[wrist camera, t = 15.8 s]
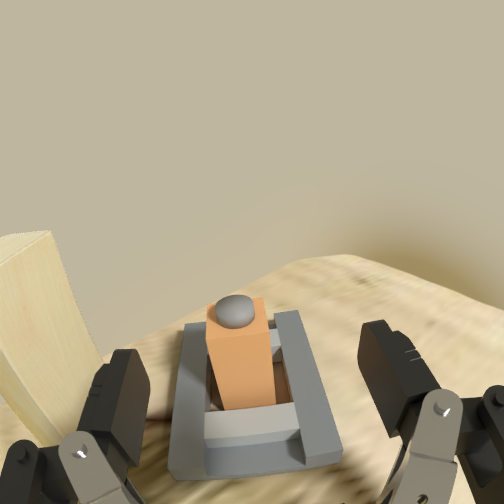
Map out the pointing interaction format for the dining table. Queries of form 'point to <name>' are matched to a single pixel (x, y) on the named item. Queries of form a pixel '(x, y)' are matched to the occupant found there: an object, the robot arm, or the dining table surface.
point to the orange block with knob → (241, 352)
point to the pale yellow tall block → (42, 338)
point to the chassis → (251, 415)
